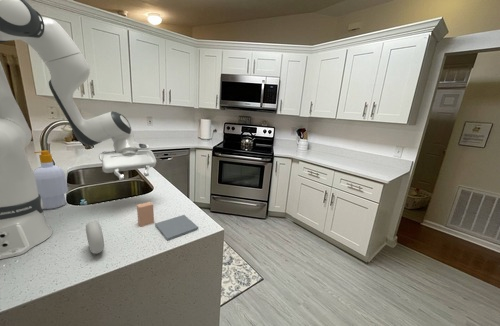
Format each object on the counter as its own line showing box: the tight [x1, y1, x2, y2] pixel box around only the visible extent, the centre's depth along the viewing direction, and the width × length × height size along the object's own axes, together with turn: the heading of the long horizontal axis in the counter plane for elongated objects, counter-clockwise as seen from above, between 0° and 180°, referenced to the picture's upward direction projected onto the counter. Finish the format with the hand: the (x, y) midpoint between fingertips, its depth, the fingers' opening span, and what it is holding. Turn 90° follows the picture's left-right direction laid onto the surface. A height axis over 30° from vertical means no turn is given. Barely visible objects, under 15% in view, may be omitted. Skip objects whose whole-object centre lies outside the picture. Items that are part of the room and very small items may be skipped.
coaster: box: [154, 214, 199, 242], centre depth 80 cm, size 12×12×1 cm
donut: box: [85, 220, 105, 255], centre depth 64 cm, size 10×3×10 cm, turn 45°
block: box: [136, 201, 155, 228], centre depth 81 cm, size 5×3×8 cm, turn 133°
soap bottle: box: [33, 149, 69, 210], centre depth 87 cm, size 10×10×24 cm
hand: (134, 177), depth 86 cm, fingers open, 8 cm apart
